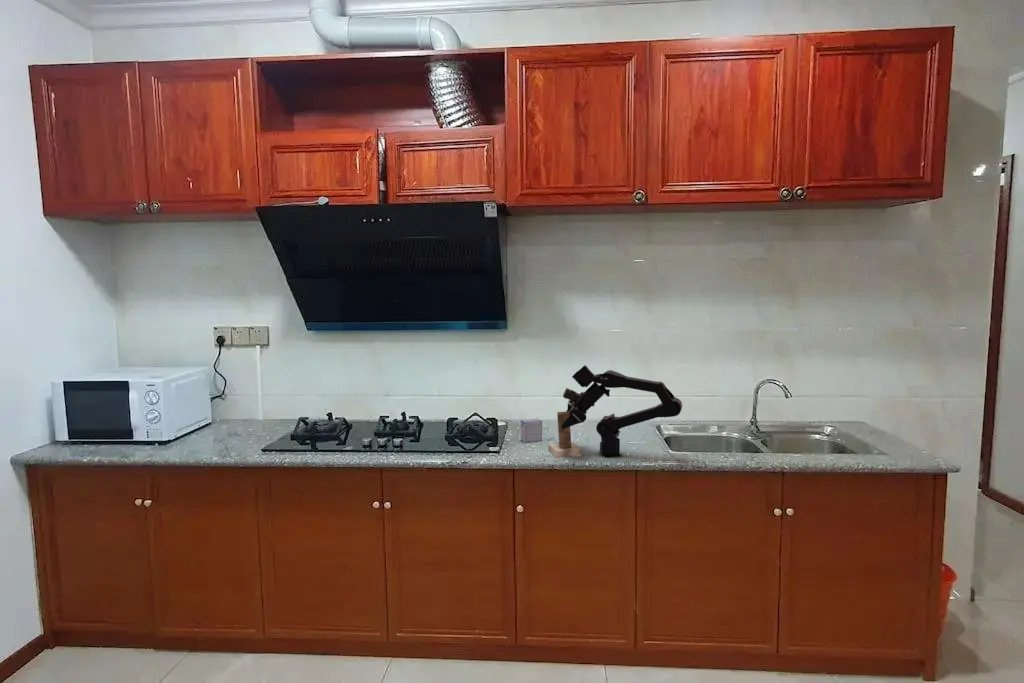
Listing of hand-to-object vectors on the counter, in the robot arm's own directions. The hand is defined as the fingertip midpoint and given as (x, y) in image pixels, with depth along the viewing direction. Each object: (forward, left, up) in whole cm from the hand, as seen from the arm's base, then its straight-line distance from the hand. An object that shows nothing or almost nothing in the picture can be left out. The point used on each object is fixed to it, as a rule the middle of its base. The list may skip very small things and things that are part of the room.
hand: (561, 425), depth 228 cm
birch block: (-1, 0, -11) cm, 12 cm away
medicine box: (+7, -20, -11) cm, 23 cm away
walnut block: (-2, 0, -8) cm, 8 cm away
